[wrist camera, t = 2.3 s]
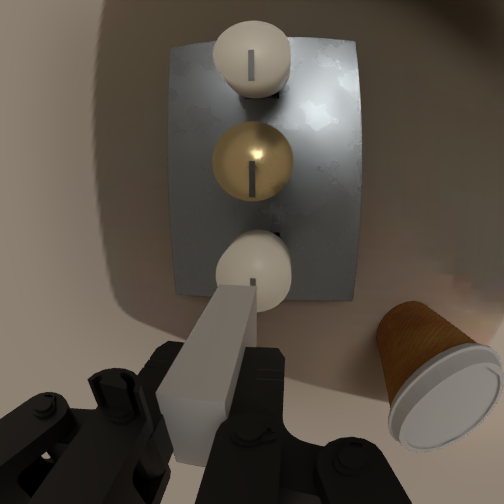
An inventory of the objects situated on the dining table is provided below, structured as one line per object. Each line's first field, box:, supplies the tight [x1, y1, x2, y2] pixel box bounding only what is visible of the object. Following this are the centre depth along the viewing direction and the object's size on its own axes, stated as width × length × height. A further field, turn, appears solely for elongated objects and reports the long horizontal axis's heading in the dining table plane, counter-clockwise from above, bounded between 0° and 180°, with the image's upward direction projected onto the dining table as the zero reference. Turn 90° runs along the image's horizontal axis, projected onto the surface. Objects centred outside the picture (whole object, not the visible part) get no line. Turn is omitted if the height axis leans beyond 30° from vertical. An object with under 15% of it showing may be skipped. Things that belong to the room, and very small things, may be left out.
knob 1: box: [213, 21, 291, 98], centre depth 15 cm, size 4×4×6 cm
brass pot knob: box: [212, 121, 293, 201], centre depth 17 cm, size 4×4×6 cm
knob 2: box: [216, 230, 291, 312], centre depth 18 cm, size 4×4×6 cm
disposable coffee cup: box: [377, 301, 504, 452], centre depth 19 cm, size 10×10×12 cm
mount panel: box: [168, 37, 362, 301], centre depth 21 cm, size 20×14×3 cm
